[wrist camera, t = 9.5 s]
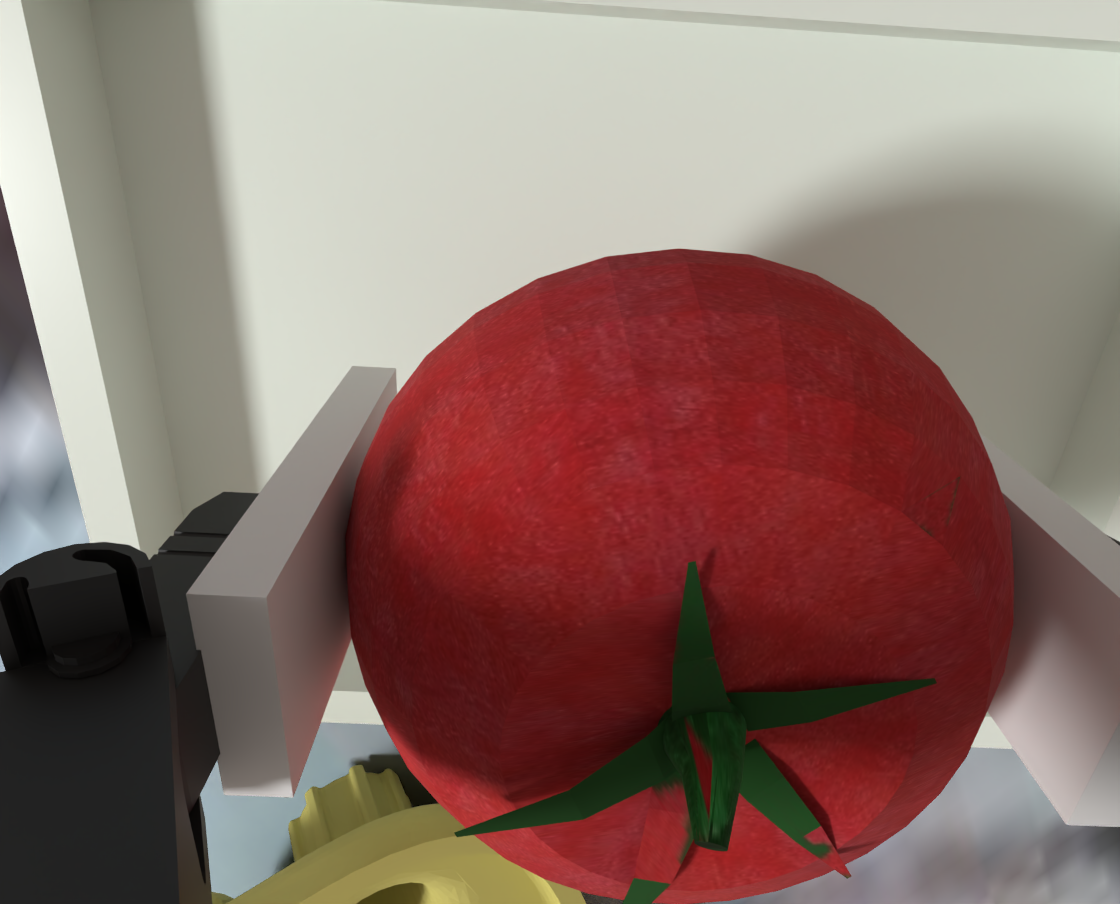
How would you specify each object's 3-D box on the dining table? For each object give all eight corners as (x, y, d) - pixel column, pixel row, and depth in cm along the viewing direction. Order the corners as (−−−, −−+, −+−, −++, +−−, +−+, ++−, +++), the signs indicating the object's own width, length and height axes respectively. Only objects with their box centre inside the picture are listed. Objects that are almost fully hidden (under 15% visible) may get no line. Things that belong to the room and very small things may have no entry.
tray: (32, -88, 13) (-77, -125, 11) (1268, 2, 14) (1409, -15, 11) (180, 644, 20) (132, 714, 18) (994, 677, 21) (1048, 750, 18)
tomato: (628, 708, 17) (685, 1181, 9) (301, 460, 14) (30, 855, 7) (972, 450, 14) (1420, 833, 7) (650, 81, 11) (825, 60, 4)
